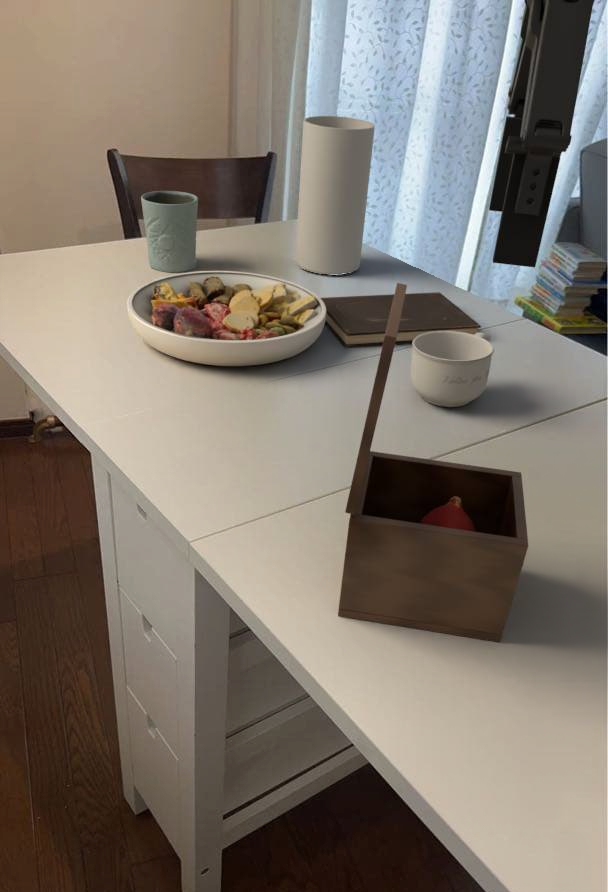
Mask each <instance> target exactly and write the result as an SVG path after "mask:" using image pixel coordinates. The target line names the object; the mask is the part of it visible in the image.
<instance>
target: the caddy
mask: <svg viewBox="0 0 608 892" xmlns="http://www.w3.org/2000/svg"><path fill="white" fill-rule="evenodd" d="M454 496H455V497H459V498H460V499H461V505H462V508H463V510H464V511H465V512H466V513H467V515H468V516H469V517H470V519H471V521H472V522H473V524H474V527H475V530H476V532H473V531H466V530H460V529H453V528H446V527H440V526H433V525H426V524H419V523H420V521H421V520H422V519H423V517H424V516H426V515H427V514H428V513H429V512H431V511H432V510H433V509H435V508H437V507H440V506H443V505H446V504H447V503H448V502H449V501H450V499H451V498H452V497H454ZM347 527H348V528H347V534H346V536H347V537H346V545H345V553H344V561H343V569H342V577H341V585H340V593H339V594H340V595H339V603H338V609H337V616H338V617H342V618H343V617H344V618H350V619H354V620H361V621H368V622H373V623H379V624H384V625H385V624H386V625H392V626H399V627H403V628H404V627H405V628H411V629H416V630H423V631H429V632H435V633H442V634H447V635H453V636H459V637H466V638H471V639H478V640H483V641H489V642H496V643H501V642H502V638H503V634H504V631H505V628H506V624H507V621H508V617H509V614H510V611H511V607H512V604H513V602H514V601H513V600H514V597H515V593H516V590H517V587H518V583H519V580H520V576H521V573H522V571H523V570H522V569H523V566H524V562H525V560H526V555H527V552H528V549H529V536H528V526H527V516H526V506H525V497H524V486H523V475H522V472H520V471H513V470H507V469H500V468H492V467H485V466H477V465H471V464H464V463H457V462H449V461H444V460H436V459H428V458H423V457H416V456H409V455H400V454H395V453H394V454H393V453H387V452H379V451H372V450H370V453H369V457H368V462H367V466H366V470H365V474H364V479H363V483H362V487H361V491H360V496H359V500H358V504H357V508H356V513H355V515H353V514H349V518H348V526H347Z"/></svg>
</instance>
